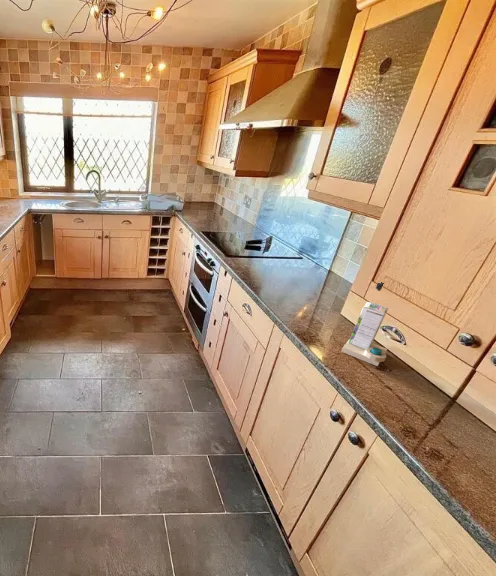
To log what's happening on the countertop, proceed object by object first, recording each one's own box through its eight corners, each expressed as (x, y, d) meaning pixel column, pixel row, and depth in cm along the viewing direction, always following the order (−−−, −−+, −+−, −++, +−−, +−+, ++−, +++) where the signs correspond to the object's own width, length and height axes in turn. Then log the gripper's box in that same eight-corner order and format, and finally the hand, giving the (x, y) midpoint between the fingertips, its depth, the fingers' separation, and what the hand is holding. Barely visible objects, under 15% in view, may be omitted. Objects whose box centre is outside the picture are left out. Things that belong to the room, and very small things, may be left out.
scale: (388, 354, 103) (392, 346, 101) (380, 369, 97) (384, 360, 95) (350, 340, 110) (353, 332, 109) (340, 352, 104) (343, 344, 103)
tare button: (381, 353, 99) (382, 349, 98) (379, 356, 97) (380, 353, 97) (371, 350, 100) (373, 346, 100) (369, 353, 99) (371, 349, 98)
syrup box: (352, 336, 109) (366, 300, 103) (372, 343, 105) (389, 307, 99) (347, 343, 106) (362, 306, 100) (369, 350, 102) (385, 313, 96)
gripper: (428, 294, 105) (420, 310, 95) (376, 281, 114) (364, 295, 105) (438, 274, 101) (431, 288, 92) (384, 263, 111) (372, 275, 102)
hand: (395, 292), depth 99 cm, fingers open, 8 cm apart
